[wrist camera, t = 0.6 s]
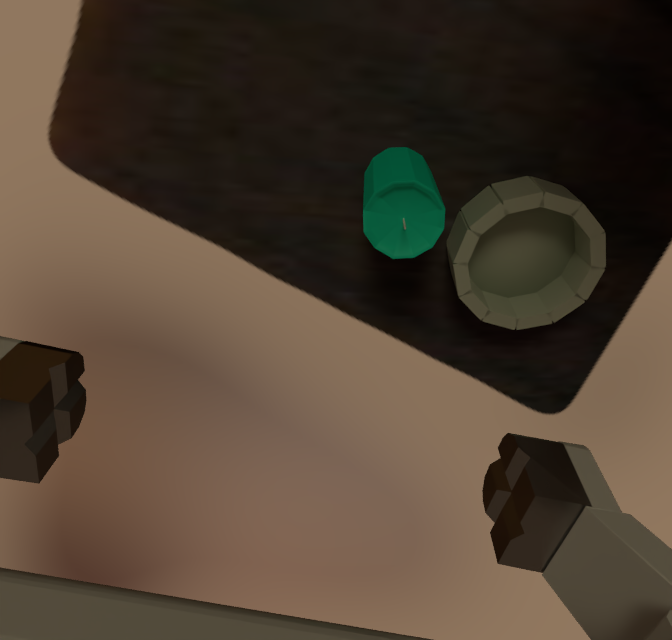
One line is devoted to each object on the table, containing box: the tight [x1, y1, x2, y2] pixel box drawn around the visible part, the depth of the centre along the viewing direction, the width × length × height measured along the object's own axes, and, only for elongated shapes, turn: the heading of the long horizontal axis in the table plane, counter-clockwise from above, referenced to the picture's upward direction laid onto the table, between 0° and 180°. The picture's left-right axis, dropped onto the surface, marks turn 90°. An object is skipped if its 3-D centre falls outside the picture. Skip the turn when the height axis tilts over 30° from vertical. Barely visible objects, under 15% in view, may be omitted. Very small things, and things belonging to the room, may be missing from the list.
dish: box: [446, 176, 606, 330], centre depth 47 cm, size 12×12×5 cm
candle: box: [363, 147, 445, 259], centre depth 42 cm, size 6×6×12 cm
